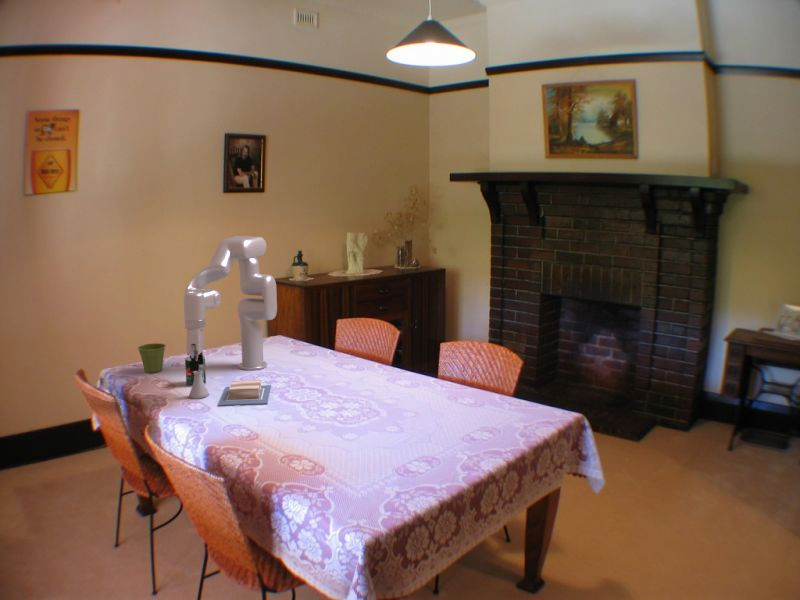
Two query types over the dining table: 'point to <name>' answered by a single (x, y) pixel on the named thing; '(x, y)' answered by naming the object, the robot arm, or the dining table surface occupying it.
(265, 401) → the board
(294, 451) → the dining table surface
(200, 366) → the canned tomato
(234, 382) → the birch plinth
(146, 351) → the plant pot
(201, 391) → the flask
